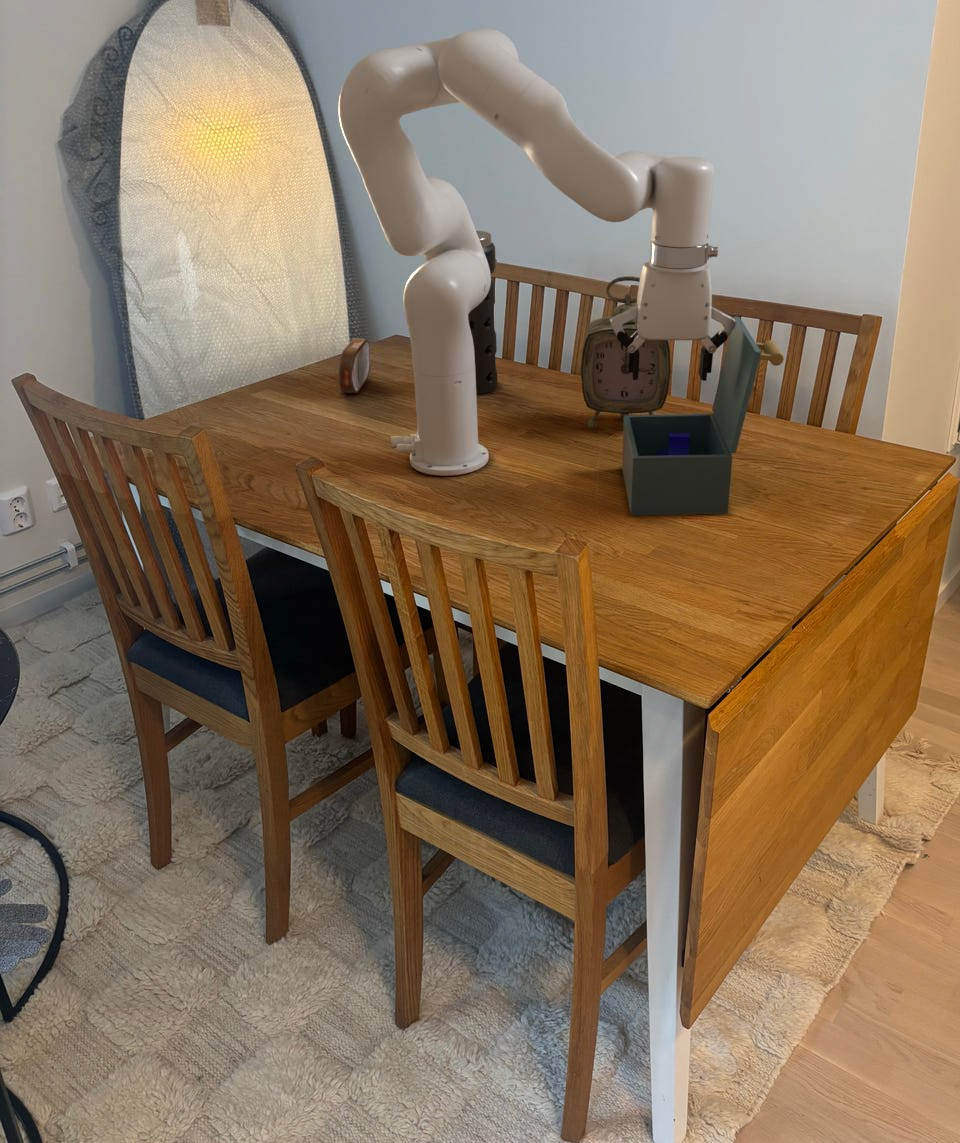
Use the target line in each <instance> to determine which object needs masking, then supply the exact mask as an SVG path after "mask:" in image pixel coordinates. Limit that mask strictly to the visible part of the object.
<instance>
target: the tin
mask: <svg viewBox="0 0 960 1143" xmlns="http://www.w3.org/2000/svg"><path fill="white" fill-rule="evenodd" d="M370 348H371V345H370V342H369V340H368V339H367V338H359V337H353V338H352V339H351V341H349V343H348V344H347V345H346V346H345V347H344V349H343V350H342V352H341V355H340V360H339V370H338V380H339V382H338V383H339V388H340V391H341V393H342V394H357V393H358V392H359V391H360V390H361V389H362V387H363V386H364V385H365V383H366V382H367V380H368V378H369V374H370V370H371V359H370V356H371V355H370V353H371V352H370V350H371V349H370Z"/></svg>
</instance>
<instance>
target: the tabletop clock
mask: <svg viewBox="0 0 960 1143" xmlns="http://www.w3.org/2000/svg"><path fill="white" fill-rule="evenodd" d="M619 282H638V283H639V282H640V277H638V276H632V275H630V276H619V277H616V278H614V279H612V280H611V281H610V282H609V283H608V285H607V286H606V290H605V292H606V295H607V297H608V298H609V299H610V300H611V301H613V302H617V303H619V304H620V305H617V306H616V307H615V308H614V310H613V311H612V314H611V316H603V317H598V318H595V319H593V320H592V321H590V322H589V324H588V326H587V328H586V332H585V337H584V341H583V347H582V356H581V365H580V376H581V377H580V378H581V391H582V396H583V400H584V402H585V405H586V407H587V408H588V409H590V410H593V411H595V412H594V413H593V414H594V415H593V417H592V418H590V419H589V420H587V427H588V428H589V429H595V428H596V427H597V425H598V423H597V418H598V417H599V415H600V413H609V414H619V418H620V419H621V420H624V415H630V414H644V413H645V414H646V413H648V415H655V413H654V412H655V411H658V410H661V409H663V407H664V405H665V403H666V401H667V397H668V393H669V388H670V381H671V374H672V373H671V371H672V370H671V368H672V367H671V365H672V364H671V345H670V340H646V341H645V342H644V343H643V344H642V345H641V346H640V347H639V348H638V350H639V354H640V356H639V372H638V379H637V380H633V379H632V374H631V373H628V372H627V364H628V350H627V349H626V348H625V347H624V345H623V344H622V343H621V342H620V341H619V340H618V339H617V336H616V334H615V332H614V330H613V328H612V326H611V323H610V319H611V318H612V317H614V316H616V315H618V314H620V313H623V312H625V311H627V310H629V309H631V308H633V307H635V306H636V304H637V297H636V298H634V297H633V298H632V294H631V293H626V294H625V295H624V298H620V297H616V296H614V295H612V294H611V293H610V289H611V287H612V286H614V284H617V283H619ZM635 303H636V304H635ZM622 327H623V330H624V331H625V332H626V333H627V334H628V335H629V337H631V336H632V335H633V334H634V333H635V332H636V331H637V329H636V327H635V319H633V320H631V321H629V322H627V323H625V324H623V325H622Z"/></svg>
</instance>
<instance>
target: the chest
mask: <svg viewBox="0 0 960 1143" xmlns="http://www.w3.org/2000/svg"><path fill="white" fill-rule="evenodd" d="M622 426H623V429H622V456H621V457H622V460H621V470H622V475H623V481H624V485H625V491H626V495H627V501H628V506H629V511H630V516H680V515H681V516H682V515H683V516H685V515H689V516H690V515H728V514H729V502H730V492H731V481H732V480H731V479H732V468H733V453H730V451H729V449H728V447H727V444H726V442H725V439H724V437H723V435H722V432H721V430H720V428H719V425H718V423H717V421H716V418H715V416H714V413H677V414H676V413H675V414H674V413H673V414H670V413H668V414H654V415H650V414H629V415H624V419H623V424H622ZM669 433H690V439H689V455H668V456H658V451H668V449H669Z"/></svg>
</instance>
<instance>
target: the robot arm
mask: <svg viewBox="0 0 960 1143" xmlns="http://www.w3.org/2000/svg"><path fill="white" fill-rule="evenodd" d="M457 103H461V104H462V105H464V106H465V107H466V108H468V109H469V110H470V111H471V112H473V113H474V114H476V115H477V116H478V117H480V118H481V119H482V120H484V121H485V122H487V123H488V124H490V126H492V127H493V128H494V129H496V130H497V131H499V132H500V133H501V134H502V135H504V136H505V137H507V138H508V139H509V140H511V141H512V142H513V143H515V145H517V146H518V147H520V148H521V150H523V151H524V153H525V154H526V155H527V157H528V158H529V160H530V161H531V162H532V163H533V164H534V165H535V166H536V168H537V169H538V170H539V171H540V172H541V174H542V175H543V176H544V177H545V178H546V179H547V180H548V181H549V182H550V183H551V184H552V185H553V186H554V187H555V188H557V189H558V190H559V191H560V192H561V193H562V194H564V195H565V196H566V197H568V198H569V199H570V200H572V201H573V202H574V203H575V204H577V205H579V206H580V207H581V208H582V209H584V210H585V211H587V212H588V213H589V214H591V215H593V217H596V218H598V219H600V220H603V221H605V222H608V223H609V222H610V223H621V222H624V221H627V220H629V219H631V218H633V217H634V216H635V215H636V214H637V213H638V212H640V211H643V210H645V209H652V220H651V234H650V235H651V237H650V248H649V249H650V250H649V261H647V262H644V263H643V266H642V269H641V273H640V277H639V278H640V282H638V290H637V296H636V298H637V302H636V304H635V305H636V306H635V307H633V308H631V309H629V310H627V311H625V312H623V313H620V314H618V315H616V316H614V317H612V316H611V317H612V318H611V319H610V323H611V326H612V328H613V330H614V332H615V334H616V336H617V339H618V340H619V341H620V342H621V343H622V344H623V345H624V347H625V348H626V349H627V350H628V364H627V372H628V373H631V374H632V379H633V380H637V379H638V372H639V356H640V354H639V350H638V348H639V347H640V346H641V345H642V344H643V343H644V342H645V341H646V340H669V341H699V342H700V344H702V346H701V348H700V354H699V365H698V376H699V379H700V380H701V381H704V382H706V381H707V380H708V379H707V378H708V374H712V370H713V361H714V360H713V359H714V354H715V353H716V352H717V349H718V348H720V347H721V346H722V345H723V344H724V343H725V342H727V341H728V340H729V337H730V333H731V332H732V330H733V329H734V327H735V326H736V321H735V319H734V317H732V316H731V315H729V314H727V313H725V312H723V311H721V310H719V309H718V308H716V307H714V306H713V304H712V303H713V302H712V301H713V287H712V272H711V265H710V264H709V263H708V261H709V260H710V259H712V258H718V254H719V247H718V246H713V245H710V244H709V243H708V242H709V233H710V221H711V211H712V210H711V209H712V199H713V189H714V178H715V169H714V166H713V164H712V162H711V161H710V160H708V159H706V158H702V157H697V156H672V157H671V156H670V157H667V156H662V155H655V154H651V153H647V152H641V151H626V152H622V153H619V154H617V155H616V156H614V155H612V154H611V153H610V152H609V151H607V150H606V149H604V147H601V146H600V145H599V143H598V144H597V142H595V141H594V140H593V139H591V138H590V137H589V136H588V135H587V134H586V133H585V132H584V131H583V130H582V129H581V128H580V127H579V125H577V123H576V122H575V121H574V120H573V118H572V116H571V114H570V111H569V108H568V105H567V102H566V99H565V97H564V95H563V94H562V93H561V91H560V90H559V89H557V88H556V87H555V86H554V85H553V84H552V83H549V82H548V81H546V79H544V78H543V77H542V76H540V75H538V74H537V73H536V72H534V71H533V70H532V69H530V68H529V67H528V66H526V65H525V64H524V63H522V62H521V61H520V58H519V53H518V50H517V48H516V46H515V43H514V42H513V41H512V40H511V39H510V38H509V37H508V36H507V35H506V34H504V33H503V32H501V31H500V30H496V29H495V28H479V29H473V30H467V31H463V32H461V33H458V34H456V35H455V36H452V37H448V38H443V39H437V40H433V41H427V42H422V43H417V44H410V45H405V46H399V47H391V48H384V49H381V50H377V51H375V52H372V53H370V54H368V55H366V56H365V57H363V58H361V59H360V60H359V61H358V62H357V63H356V64H355V65H354V66H353V67H352V69H351V70H349V73H348V74H347V76H346V78H345V79H344V82H343V84H342V86H341V89H340V93H339V99H338V118H339V119H338V120H339V124H340V129H341V131H342V132H341V133H342V134H343V137H344V140H345V142H346V145H347V146H348V150H349V151H350V154H351V155H352V158H353V160H354V163H355V165H356V166H357V169H358V171H359V174H360V177H361V178H362V182H363V185H364V187H365V190H366V192H367V194H368V198H369V199H370V202H371V204H372V207H373V210H374V212H375V214H376V216H377V220H378V222H379V224H380V227H381V229H382V231H383V234H384V236H385V239H386V241H387V243H388V244H389V245H390V247H391V248H392V250H394V251H395V252H397V253H398V254H399V255H402V256H405V257H416V256H420V255H423V257H424V260H425V263H422V264H421V265H420V266H419V267H418V268H416V269H415V270H414V272H412V274H411V275H410V276H409V278H408V280H407V281H406V284H405V286H404V290H403V297H402V301H403V302H402V303H403V311H404V316H405V319H406V324H407V328H408V333H409V339H410V340H409V341H410V348H411V358H412V360H411V361H412V369H413V381H414V383H413V384H414V396H415V397H414V398H415V409H416V410H415V412H416V425H417V430H416V433H411V434H410V436H403V435H394V436H390V447H391V449H396V453H399V454H400V453H401V454H404V453H410V454H409V463H410V466H411V467H412V468H413V469H414V470H416V471H418V472H420V473H422V474H426V475H431V476H440V477H441V476H442V477H448V476H449V477H451V476H460V475H466V474H470V473H473V472H475V471H477V470H481V469H482V468H483V467H484V466H486V464H488V462H489V459H490V458H489V455H490V454H489V451H488V449H487V448H486V447H485V446H484V445H482V444H480V443H479V427H478V426H479V425H478V404H477V403H478V401H477V400H478V399H477V395H476V373H475V354H474V344H473V338H472V334H471V330H470V326H469V321H468V313H469V312H470V311H471V310H473V309H474V308H475V307H477V306H478V305H479V304H480V303H481V302H482V301H483V300H484V299H485V297H486V296H487V294H488V292H489V289H490V285H491V274H490V269H489V265H488V262H487V259H486V256H485V253H484V251H483V248H482V245H481V243H480V240H479V238H478V235H477V232H476V231H477V230H476V228H475V225H474V222H473V219H472V217H471V214H470V211H469V209H468V205H467V204H466V202H465V200H464V199H463V197H462V195H461V194H460V193H459V191H458V190H457V189H456V188H455V187H454V186H453V185H452V184H451V183H450V182H448V181H446V180H444V179H441V178H437V177H427V176H426V174H425V172H424V170H423V167H422V165H421V162H420V159H419V156H418V154H417V151H416V149H415V147H414V144H413V143H412V141H411V140H410V139H409V137H408V135H407V134H406V133H405V132H404V130H403V128H402V126H401V124H400V123H401V122H400V120H401V118H402V117H403V116H404V115H408V114H412V113H416V112H419V111H422V110H427V109H430V108H436V107H440V106H446V105H452V104H457ZM633 319H635V327H636V329H637V331H636V332H635V333H634V334H633V335H632V336H631V337H629V335H628V334H627V333H626V332H625V331H624V330H623V327H622V325H623V324H625V323H627V322H629V321H631V320H633ZM712 320H713V321H716V322H718V323H720V324H721V325H722V326H721V328H720V330H718V331H717V332H716V333H715V334H714V335H713V336H710V332H711V325H712Z"/></svg>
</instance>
